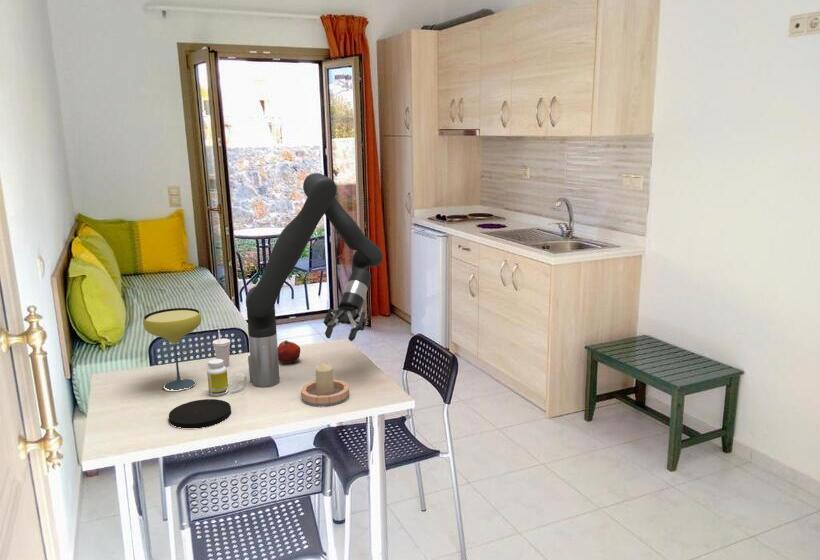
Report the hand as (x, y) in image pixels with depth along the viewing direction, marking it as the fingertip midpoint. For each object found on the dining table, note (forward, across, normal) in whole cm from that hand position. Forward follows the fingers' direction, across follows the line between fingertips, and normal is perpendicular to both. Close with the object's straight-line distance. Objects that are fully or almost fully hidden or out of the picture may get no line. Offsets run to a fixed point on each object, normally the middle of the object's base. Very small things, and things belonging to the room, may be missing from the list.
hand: (338, 338), depth 211 cm
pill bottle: (+26, -35, -2) cm, 43 cm away
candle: (+18, 0, +4) cm, 19 cm away
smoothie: (+10, -50, +13) cm, 53 cm away
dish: (+19, 0, +4) cm, 19 cm away
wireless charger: (+37, -28, -13) cm, 49 cm away
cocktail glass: (+25, -52, -2) cm, 58 cm away
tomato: (+2, -30, +22) cm, 37 cm away
